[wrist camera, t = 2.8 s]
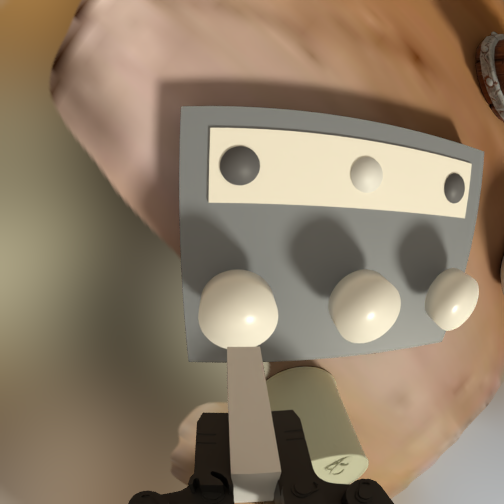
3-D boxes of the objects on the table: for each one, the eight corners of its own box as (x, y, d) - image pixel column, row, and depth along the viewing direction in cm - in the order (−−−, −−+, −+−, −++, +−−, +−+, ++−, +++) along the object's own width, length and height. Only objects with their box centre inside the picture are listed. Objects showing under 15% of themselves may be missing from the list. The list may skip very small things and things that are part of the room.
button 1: (456, 316, 23) (468, 326, 21) (418, 321, 22) (429, 334, 21) (471, 267, 21) (485, 276, 19) (433, 268, 21) (447, 278, 19)
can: (351, 376, 30) (391, 458, 19) (307, 425, 33) (328, 502, 21) (282, 355, 28) (308, 455, 17) (241, 410, 31) (249, 500, 19)
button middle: (380, 326, 22) (391, 339, 20) (323, 330, 22) (331, 346, 20) (394, 269, 20) (407, 279, 19) (333, 269, 20) (343, 281, 18)
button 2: (271, 332, 21) (275, 349, 19) (201, 333, 21) (200, 349, 19) (276, 269, 20) (281, 282, 18) (199, 269, 19) (196, 282, 17)
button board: (428, 327, 29) (443, 343, 26) (191, 341, 27) (188, 363, 24) (464, 149, 23) (486, 152, 19) (187, 112, 20) (180, 105, 17)
